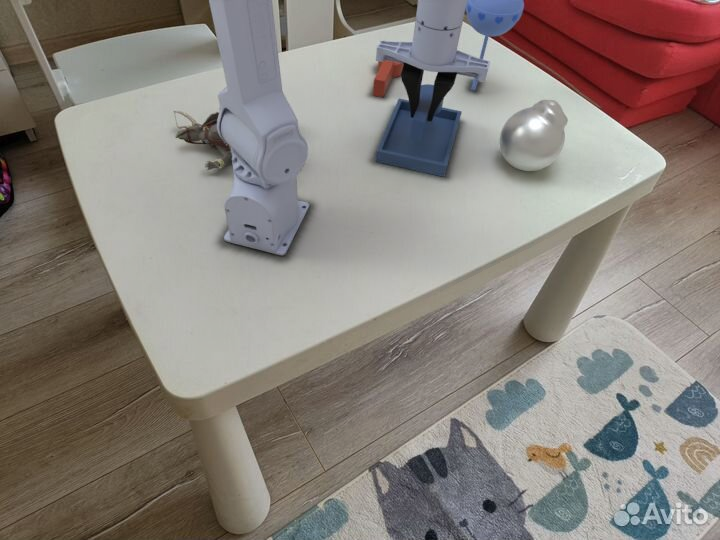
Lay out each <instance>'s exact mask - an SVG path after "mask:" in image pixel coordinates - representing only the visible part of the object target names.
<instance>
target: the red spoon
mask: <svg viewBox="0 0 720 540" xmlns="http://www.w3.org/2000/svg"><path fill="white" fill-rule="evenodd" d="M402 69H403V63H398V62H393V61H388V60H385V61H384V62H379V61H377V73H376V75H375V76H374V79H373V89H372V96H374V97H379V98H384V97H385V95H386V92H387V90H388V88H389V86H390V83H391V81H392V80H393V79H395V78H399V77H401V72H402Z"/></svg>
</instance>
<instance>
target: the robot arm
mask: <svg viewBox="0 0 720 540" xmlns="http://www.w3.org/2000/svg"><path fill="white" fill-rule="evenodd" d="M208 3H209V7H210V12H211V17H212V22H213V26H214V31H215V35H216V41H217V46H218V50H219V56H220V59H221V64H222V69H223V75H224V78H225V79H224V80H225V83H226V87H224V88H223V89H221V91H220V92H218V94H217V98H218V104H219V111H218V112H219V115H218V119H217V130H218V133H219V136H220V137H221V139H222V140H223V141H224V142H226V143H227V144H229V145H230V146H231V152H232V159H231V162H232V163H231V164H232V172H233V182H232V187H231V190H230V192H229V194H228V196H227V198H226V200H225V202H224V211H225V219H226V223H227V227H228V230H227V231H226V232H225V234H224V236H223V238H224V241H225V242H227V243H230V244H231V243H232V244H234V245H239V246H242V247H246V248H251V249H254V250H257V251H258V250H259V251H263V252H265V253H270V254H273V255H278V256H284V255H286V254H287V252H288V249H289V248H290V246H291V244H292V242H293V240H294V238H295V236H296V234H297V232H298V230H299V228H300V226H301V224H302V222H303V220H304V218H305V216H306V214H307V212H308V210H309V208H310V203H309V202H307V201H302V200H299V199H298V178H297V177H298V176H297V175H299V173H300V172H301V171H302V170H303V168H304V166H305V164H306V161H307V160H308V155H309V146H308V142H307V141H306V139H305V137H304V136H303V135H302V133H301V132H300V128H299V120H298V118H297V115H296V114H295V112H294V110H293V108H292V106H291V105H290V103H289V101H288V100H287V97H286V95H285V92H284V91H283V83H282V75H281V66H280V58H279V50H278V40H277V33H276V32H277V31H276V25H275V15H274V7H273V0H208ZM466 4H467V0H417V7H416V12H415V13H416V15H415V20H414V28H413V34H412V35H413V36H412V41H389V40H382V39H380V40H379V42H378V44H377V46H376V53H375V56H376V57H375V61H376V62H378V61H379V62H384V61H385V60H388V61H393V62H398V63H403V69H402V72H401V75H400V79H401V82H402V84H403V86H404V89H405V92H406V95H407V98H408V99H407V100H409V104H410V117H411V118H413V117H414V114H415V112H416V109H417V106H418V104H419V101H420V90H421V85H422V83H423V79H424V78H423V77H424V72H425V71H426V72H432V73H436V76H435V78H434V83H433V85H434V89H433V96H432V102H431V106H430V110H429V113H428V119H427V121H430V122H432V120H433V117H434V114H435V111H436V109H437V108H438V106H439V104H440V103H441V101H442V100H443V98H444V99H445V97H446V96H447V94H448V93H450V92H451V90H452V89H453V87H454V85H455V82H456V79H457V75H459V76H465V77H469V78H473V79H474V78H477V81H478V82H481V83H485V82H486V81H487V80H486V79H487V76H488V72H489V68H490V64H491V61H490V60H486V59H484V58H483V59H479V58H480V57H476V56H474V55H472V54H469V53H466V52H464V51H460V50H458V46H459V41H460V36H461V31H462V27H463V22H464V19H465V14H466ZM443 101H444V100H443Z"/></svg>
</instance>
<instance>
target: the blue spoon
mask: <svg viewBox="0 0 720 540" xmlns="http://www.w3.org/2000/svg"><path fill="white" fill-rule="evenodd" d="M433 89H434V84H429V83H428V84H427V83H426V84H425V83H424V84H421V90H420V101H419V104H418V106H417V109H416V112H415V114H414V117H413V120H412V126H411V132H410V138H413V139H418V140H422V139H423V136H424V133H425V130H426V127H427V124H428V121H427V119H428V113H429V110H430V106H431V102H432V96H433ZM444 99H445V97H444V98H443V100H442V101H441V103H440V104H439V106H438V108H437V109H436V111H435V114H438V113H439V112H440V111H441V110H442V107H443V104H444ZM435 114H434V115H435Z"/></svg>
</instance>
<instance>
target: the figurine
mask: <svg viewBox="0 0 720 540" xmlns="http://www.w3.org/2000/svg"><path fill="white" fill-rule="evenodd" d="M172 112H173V115H174V120H175V124H176V126H177V128H178V129H179V130H178V131H177V132H176V134H175V137H174V138H175V139H179V140H182V141H184V142H186V143H188V144H190V145H208V146H215V148H217V149H218V151H219V153H220V154H221V155H222V157H220V158H216V159H215V160H214V161H210V160H206V161H205V162H206V163H205V164H204V165H205V166H204V168H207V169H206V171H210V170H213V169H223V168H224V166H225V165H226V164H228V163H230V161H232V152H231V146H230V145H229V144H227V143H226V142H224V141H223V140H222V139H221V137H220V136H219V133H218V130H217V119H218V115H219V111H216V112H214V113H210V114H209V115H208V116H207V117H206V119H205V120H204V121H203V123H202V124H201V123H198V122H197V120H196V119H194V118H193V117H192V116H190V115H189V114H188V113H187V112H183V111H178V110H173V111H172ZM176 113H177V114H180V115H182V116H184V118H186V119H188V120H189V121H190V122H191V123H192V124H191V125H190V124H189V125H181V126H179V125H178V122H177V118H176V117H177V116H176ZM199 141H201V142H199Z"/></svg>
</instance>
